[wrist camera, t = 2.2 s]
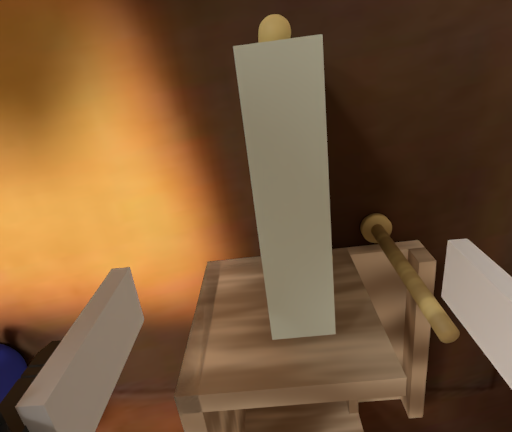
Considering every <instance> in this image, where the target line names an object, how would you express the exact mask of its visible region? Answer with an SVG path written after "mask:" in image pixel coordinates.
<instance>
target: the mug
mask: <svg viewBox="0 0 512 432" xmlns="http://www.w3.org/2000/svg"><path fill="white" fill-rule="evenodd" d="M26 368H27V365H26V362H25V360H24V358H23V357H22V356H21V355H20V354H19V353H18V352H17V351H16V350H14V349H13V348H11V347H9V346H6V345H3V344H0V403H1V401H2V400H3V399H4V397H5V396H6V395H7V393H8V392H9V391H10V390H11V388H12V387H13V386H14V384H15V383H16V382H17V380H18V379H20V378H21V375H22V374H23V372H24V371H25V370H26Z"/></svg>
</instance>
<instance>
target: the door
mask: <svg viewBox="0 0 512 432" xmlns="http://www.w3.org/2000/svg"><path fill="white" fill-rule="evenodd" d="M290 37H291V27H290V24H289V22H288V21H287V19H286V18H284V17H283V16H281V15H278V14H272V15H269V16H267V17H266V18H264V19H263V21H262V22H261V24H260V26H259V30H258V42H259V43H253V44H246V45H238V46H233V51H234V59H235V66H236V73H237V81H238V88H239V96H240V103H241V111H242V118H243V126H244V133H245V140H246V148H247V155H248V163H249V170H250V178H251V185H252V193H253V200H254V207H255V215H256V222H257V230H258V237H259V245H260V252H261V260H262V267H263V274H264V282H265V289H266V297H267V304H268V312H269V319H270V327H271V334H272V340H277V339H288V338H299V337H310V336H321V335H332V334H336V330H335V307H334V285H333V262H332V260H333V255H332V240H331V217H330V194H329V172H328V149H327V127H326V104H325V81H324V59H323V36H322V34H319V35H312V36H305V37H297V38H290Z"/></svg>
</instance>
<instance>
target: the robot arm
mask: <svg viewBox="0 0 512 432" xmlns="http://www.w3.org/2000/svg"><path fill="white" fill-rule="evenodd" d="M441 297H442V298H443V300H444V301H445V302H446V304H447V305H448V306H449V308H450V309H451V310H452V312H453V313H454V314H455V315H456V317H457V318H458V319H459V321H460V322H461V323H462V325H463V326H464V327H465V329H466V330H467V331H468V333H469V334H470V335H471V337H472V338H473V339H474V340H475V342H476V343H477V344H478V346H479V347H480V348H481V350H482V351H483V352H484V354H485V355H486V356H487V358H488V359H489V360H490V362H491V363H492V364H493V366H494V367H495V368H496V369H497V371H498V372H499V373H500V375H501V376H502V377H503V379H504V380H505V381H506V383H507V384H508V385H509V387H510V388H511V389H512V277H511V276H510V275H509V274H508V273H506V272H505V271H504V270H503V269H502V268H501V267H499V266H498V265H497V264H496V263H495V262H494V261H493V260H491V259H490V258H489V257H488V256H487V255H486V254H485V253H483V252H482V251H481V250H480V249H479V248H478V247H477V246H475V245H474V244H473V243H472V242H471V241H470V240H468V239H456V240H448V244H447V252H446V260H445V269H444V277H443V285H442V294H441ZM143 322H144V317H143V313H142V310H141V306H140V302H139V299H138V295H137V292H136V288H135V284H134V281H133V277H132V274H131V270H130V267H127V268H115V269H111V271H110V272H109V274H108V275H107V277H106V278H105V279H104V281H103V282H102V284H101V285H100V287H99V288H98V289H97V291H96V292H95V294H94V295H93V297H92V298H91V299H90V301H89V302H88V304H87V305H86V307H85V308H84V309H83V311H82V312H81V314H80V315H79V316H78V318H77V319H76V321H75V322H74V324H73V325H72V326H71V328H70V329H69V331H68V332H67V334H66V335H65V336H64V338H63V339H62V341H52V342H51V343H49V344H48V345H47V346H46V347H45V348H43V349H42V350H41V351H40V352H38V354H37V355H36V356H35V358H34V359H33V360H32V362H31V363H30V364H29V367H28V368H26V370H25V371H24V372H23V374H22V375H21V378H20V379H18V380H17V382H16V383H15V384H14V386H13V387H12V388H11V390H10V391H9V392H8V393H7V395H6V396H5V397H4V399H3V400H2V401H1V403H0V432H95V430H96V428H97V426H98V424H99V421H100V419H101V417H102V415H103V412H104V410H105V408H106V405H107V403H108V401H109V399H110V396H111V394H112V392H113V390H114V387H115V385H116V383H117V381H118V378H119V376H120V374H121V371H122V369H123V367H124V365H125V362H126V360H127V358H128V356H129V353H130V351H131V349H132V347H133V344H134V342H135V340H136V337H137V335H138V333H139V331H140V328H141V326H142V324H143Z"/></svg>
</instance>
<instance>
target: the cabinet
mask: <svg viewBox="0 0 512 432" xmlns="http://www.w3.org/2000/svg"><path fill="white" fill-rule="evenodd" d="M360 231H361V233H362V235H363V237H364V238H365V239H366V240H367V241H369V242H371V243H378V244H374V245H365V246H355V247H345V248H336V249H332V255H333V260H332V262H333V285H334V307H335V330H336V334H332V335H321V336H310V337H299V338H288V339H277V340H272V334H271V327H270V319H269V312H268V304H267V297H266V289H265V282H264V274H263V267H262V260H261V256H259V257H249V258H239V259H230V260H220V261H210V262H207V266H206V270H205V274H204V278H203V282H202V286H201V290H200V294H199V298H198V302H197V306H196V310H195V314H194V318H193V322H192V326H191V330H190V335H189V339H188V343H187V347H186V351H185V355H184V359H183V363H182V367H181V371H180V375H179V379H178V383H177V387H176V391H175V395H174V399H175V402H176V406H177V409H178V412H179V416H180V419H181V423H182V426H183V429H184V432H364V431H363V427H362V424H361V420H360V417H359V413H358V402H368V401H380V400H393V399H401V401H402V403H403V405H404V408H405V410H406V413H407V415H408V417H409V418H421V417H423V409H424V398H425V386H426V375H427V364H428V352H429V341H430V329H431V327H432V328H433V330H434V332H435V333H436V335H437V336H438V338H439V339H440V341H442V342H444V343H451V342H454V341H455V340H457V339H458V337H459V335H460V332H459V330H458V329H457V327H456V326H455V325H454V323H453V322H452V320H451V319H450V318H449V316H448V315H447V314H446V312H445V311H444V309H443V308H442V307H441V305H440V304H439V303H438V301H437V300H436V299H435V297H434V296H433V295H434V284H435V273H436V260H435V259H434V257H433V256H432V255H431V254H430V253H429V252H428V251H427V249H426V248H425V247H424V246H423V245H422V244H421V242H420V241H419V240H413V241H403V242H394V241H393V240H392V238H391V237H390V234H391V232H392V224H391V222H390V221H389V220H388V218H387V217H386V216H385V215H383V214H381V213H372V214H370V215H368V216H366V217H365V218H364V219H363V220H362V222H361V225H360Z"/></svg>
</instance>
